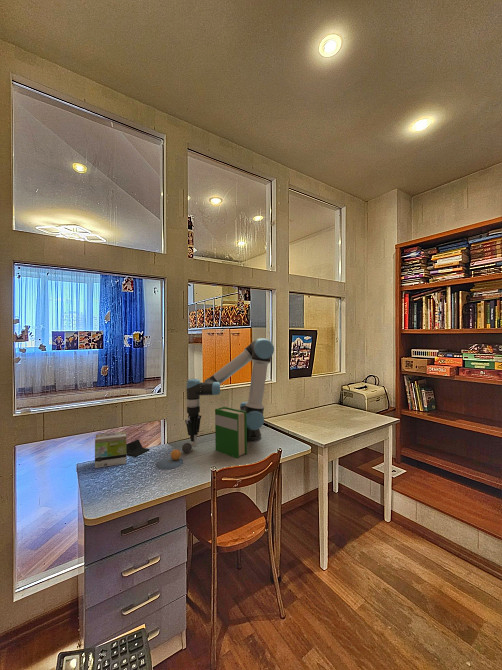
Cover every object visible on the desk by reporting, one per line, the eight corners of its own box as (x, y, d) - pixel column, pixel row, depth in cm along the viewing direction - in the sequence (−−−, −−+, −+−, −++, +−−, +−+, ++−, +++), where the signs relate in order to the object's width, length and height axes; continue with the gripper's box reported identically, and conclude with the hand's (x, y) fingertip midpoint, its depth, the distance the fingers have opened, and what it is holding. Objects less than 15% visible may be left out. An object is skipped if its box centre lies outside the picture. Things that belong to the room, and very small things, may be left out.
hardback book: (246, 454, 171) (246, 411, 171) (237, 458, 165) (237, 414, 165) (224, 446, 183) (224, 406, 182) (215, 450, 177) (215, 409, 177)
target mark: (188, 460, 163) (188, 460, 163) (171, 471, 151) (171, 471, 151) (168, 456, 169) (168, 455, 169) (149, 466, 157) (149, 466, 157)
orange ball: (182, 448, 165) (175, 454, 160) (183, 457, 166) (177, 463, 162) (174, 446, 168) (167, 452, 163) (175, 455, 169) (169, 461, 164)
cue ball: (187, 443, 171) (186, 454, 170) (194, 442, 176) (193, 452, 175) (180, 442, 174) (179, 453, 173) (186, 441, 178) (186, 451, 177)
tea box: (94, 469, 154) (94, 440, 154) (95, 461, 164) (95, 434, 163) (126, 463, 160) (126, 435, 160) (126, 456, 170) (126, 430, 169)
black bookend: (139, 454, 168) (130, 438, 171) (129, 462, 169) (121, 446, 172) (151, 450, 179) (143, 435, 182) (142, 456, 180) (134, 442, 183)
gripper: (194, 402, 186) (195, 441, 187) (181, 407, 175) (181, 449, 175) (205, 404, 183) (205, 443, 183) (191, 409, 171) (192, 451, 172)
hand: (193, 446), depth 179 cm, fingers closed
